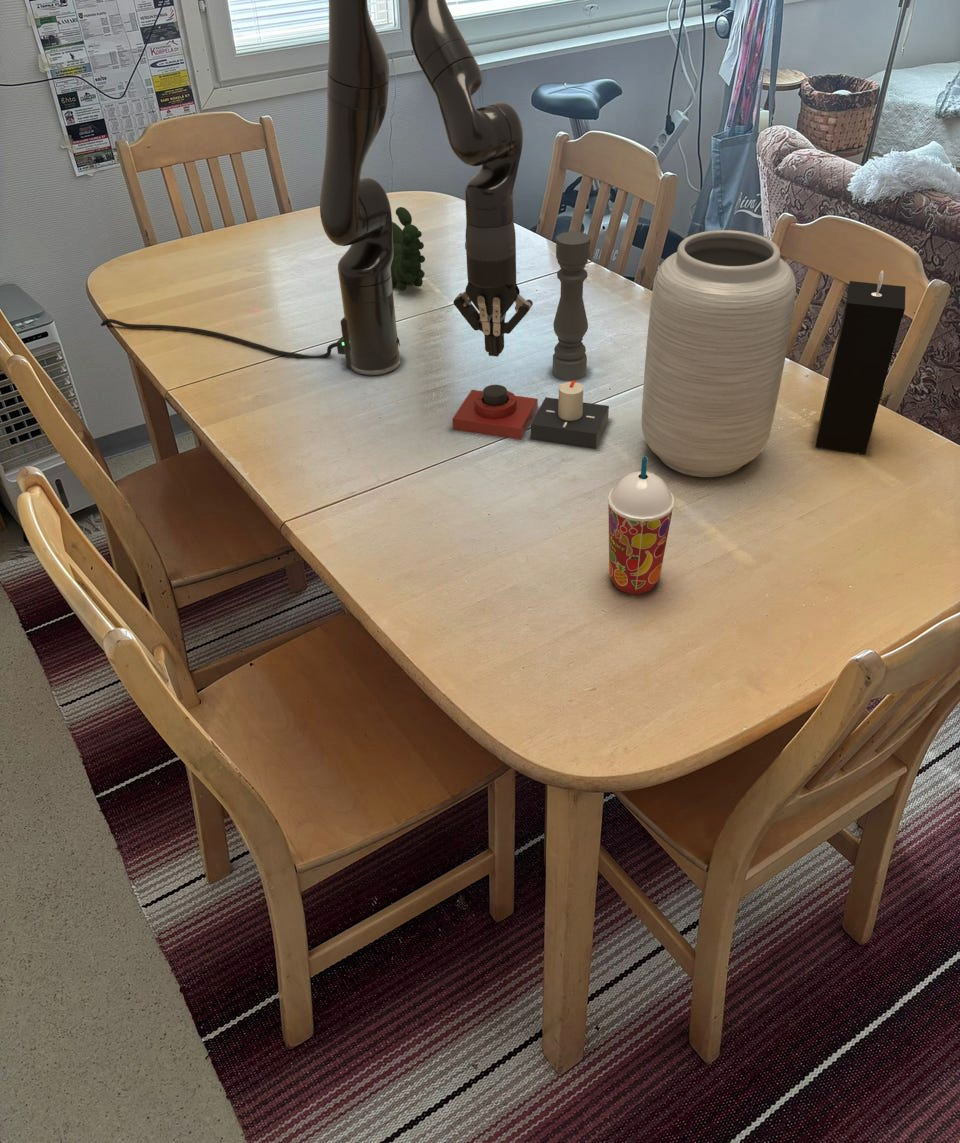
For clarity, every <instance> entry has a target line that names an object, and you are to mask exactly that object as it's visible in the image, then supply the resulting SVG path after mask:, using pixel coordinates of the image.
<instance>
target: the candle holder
mask: <svg viewBox="0 0 960 1143" xmlns="http://www.w3.org/2000/svg"><path fill="white" fill-rule="evenodd" d="M590 255H591V236H590V235H589V234H587V233H585V232H582V231H566V232H561V233H560V234H557V236H555V258H556V260H557V264H558V265H559V268H560V269H558V271H557V272H556V278H557V279H558V280H559V282H560V295H559V300H558V304H557V309H556V312H555V316H554V320H553V323H552V324H553V331H554V334H555V335H556V337H557V340H558V342H557V343H556V344H555V346H554V347H553V350H554V353H553V354H552V375H553V377H554V378H555V379H558V380H560V381H564V382H572V380H575V381H578V380H582V379H584V378H585V376H586V375H587V367H588V366H587V365H588V356H587V353H586V352H587V349H586V346H585V345H584V343H583V342H582V341H583V340H584V337H585V335H586V333H587V332H588V329H589V322H588V317H587V313H586V307H585V301H584V297H583V296H584V282H585V280H586V279H587V278H588V271H587V270H586V269H585V268H586V265H587V264H588V262H589V259H590Z"/></svg>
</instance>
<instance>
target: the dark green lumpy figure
mask: <svg viewBox="0 0 960 1143" xmlns="http://www.w3.org/2000/svg"><path fill="white" fill-rule="evenodd" d="M395 215H396V216H397V218H398V221H399V223H400V224H401V225H402V226H403V228H401V226H399V225H398V224H397V222H394V221H392V231H393V261H392V264H391V278H392V288H393V289H394V288H397V290H398V291H401V292H402V291H405V290H406V289H407V286H410V285H413V286H415V287H417V288H419V287H422V286H423V282H424V281H423V278H424V277H425V275H426V274H425V272H424V270H423V269H422V264H423V263H425V261H426V257H425V256H424V255H423V254H422V253H421V251H420V250H423V249H424V247H425V244H424V242H422V241H421V240H420V238H421V237H422V235H423V233H422V231H421V230H420V229H419V228H418V227H417V226H416V225H414V224H412V222H413V218H412V214H411V213H410V211H409V210H408V209H406V207H403V206H400V207H397V208H396V209H395Z"/></svg>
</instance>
